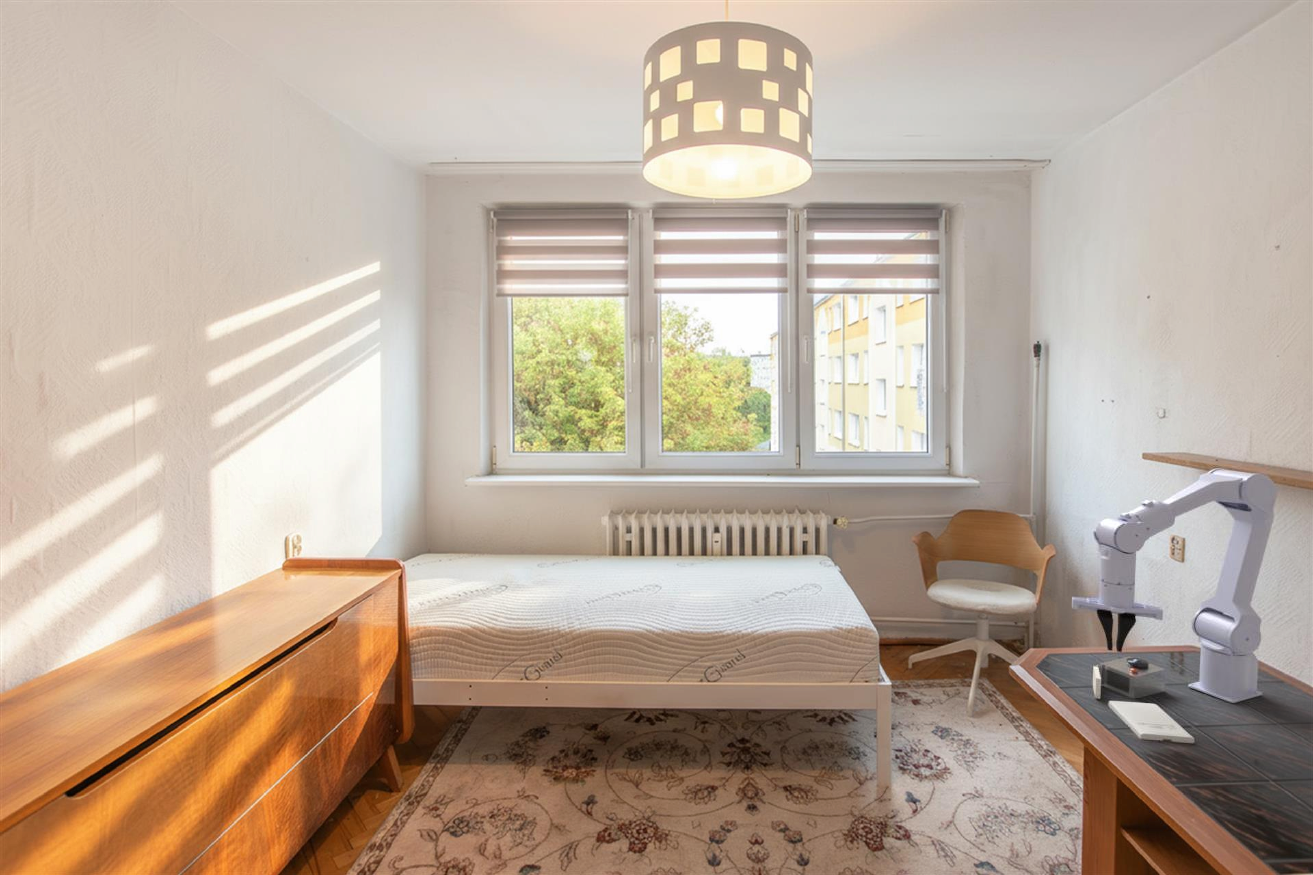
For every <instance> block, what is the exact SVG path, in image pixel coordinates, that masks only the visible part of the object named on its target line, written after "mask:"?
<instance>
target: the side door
mask: <svg viewBox="0 0 1313 875" xmlns="http://www.w3.org/2000/svg"><path fill="white" fill-rule="evenodd" d="M1092 668H1093V670H1092V689H1093V693H1094V698H1095V699H1099V700H1101V693H1102V692H1101V690H1102V686H1101V677H1100V672H1101V666H1100V664H1096V665H1094V666H1092Z"/></svg>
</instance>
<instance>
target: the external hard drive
mask: <svg viewBox="0 0 1313 875" xmlns="http://www.w3.org/2000/svg"><path fill="white" fill-rule="evenodd" d="M1108 707H1109V708H1110V709H1111V710H1112V711H1113V712H1114V713H1115V714H1116V716H1117V717H1118V718H1119V719H1121V721H1122V722H1123V723H1125V725H1126V726H1127V725H1128V726H1127V727H1128V728H1129V727H1130V730H1131V731H1132V732H1133V733H1134V734H1135V735H1136V736H1137V737H1138V739H1140V740H1148V741H1149V740H1152V741H1159V740H1160V741H1161V742H1162V741H1163V742H1164V741H1165V742H1166V741H1167V742H1173V743H1184V744H1185V743H1186V744H1195V738H1194V737H1193V736H1192V735H1191V734H1190V733H1188V731H1186V729H1184V728H1183V727H1182V726H1181V725H1180V724H1179V723H1178V722H1177V721H1176V720H1174V719H1173V718H1172V717H1171V716H1170V715H1169V714H1168V713H1166V711H1164V710H1163V709H1162V708H1161V707H1160V706H1159V705H1158V704H1156V703H1149V702H1148V703H1146V702H1136V701H1135V702H1134V701H1133V702H1132V701H1119V700H1109V701H1108Z"/></svg>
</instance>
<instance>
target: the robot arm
mask: <svg viewBox="0 0 1313 875" xmlns="http://www.w3.org/2000/svg"><path fill="white" fill-rule="evenodd" d="M1279 490H1280V489H1279V488H1278V486H1277V485H1276V484H1275V483H1274V481H1273V479H1271V478H1270V476H1268V475H1266V474H1263V473H1257V472H1256V473H1252V472H1245V471H1237V470H1232V469H1231V470H1230V469H1225V468H1220V467H1219V468H1218V467H1217V468H1214V469H1211V470H1209V471H1208V472H1205V473H1203V474H1201V475H1200V476H1199V478H1198V480H1197V481H1195V482H1193V483H1192V484H1190V485H1189V486H1187V487H1185V488H1183V489H1182V490H1180V491H1178V492H1177V493H1175V494H1173V495H1172V496H1170V497H1168V498H1167V499H1164V500H1163V501H1159V500H1156V499H1155V500H1152V499H1151V500H1148V499H1146V500H1144V501H1142V502H1141V505H1139V506H1138V507H1136V508H1134V509H1131V510H1130V511H1128V512H1123V513H1120V515H1119V516H1118V517H1117V518H1114V517H1108V518H1104V519H1103V520H1102V521H1101V522H1099V523H1098V524H1097V526H1096V529H1095V530H1094V531H1093V533H1092V534H1093V538H1094V540H1095V541H1096V543H1097V544H1098V552H1099V554H1100V556H1099V557H1100V559H1099V580H1098V581H1099V583H1098V587H1099V588H1098V597H1078V596H1077V597H1076V596H1071V609H1073V610H1086V611H1094V612H1096V614H1097V618H1098V620H1099V622H1100V624H1101V626H1102V629H1103V631H1104V635H1105V640H1106V648H1107V651H1113V645H1114V644H1113V643H1114V642H1113V627H1114V618H1113V617H1114V616H1113V614H1116V615H1117V634H1116V642H1115V644H1116V645H1115V646H1116V647H1115V649H1116V651H1117V652H1118V653H1122V650H1123V647H1124V644H1125V641H1126V639H1127V636H1128V635H1129V633H1130V631H1131V630H1132V628H1134V627H1135V625H1136V622H1137V619H1136V617H1142V618H1150V619H1155V620H1157V621H1158V620H1159V621H1163V620H1164V619H1163V615H1164V611H1163V608H1162V607H1160V606H1153V605H1148V604H1142V603H1138V602H1135V591H1136V569H1137V568H1136V567H1137V562H1136V561H1137V552H1139V551H1140V550H1142V548H1143V547H1144V545H1145V543H1146V541H1148V540H1150V538H1152V537H1154V536H1155V535H1157V534H1160V533H1161V532H1164V531H1165V530H1167V529H1169V528H1171V527H1173V526H1174V524H1175V521H1176V518H1177V517H1179V516H1181V515H1184V514H1186V513H1188V512H1190V511H1193V510H1196V509H1198V508H1200V507H1202V506H1206V505H1207V504H1210V503H1211V502H1215V503H1216V504H1218V505H1220V506H1221V507H1223V508H1224V509H1225V510H1226V511H1227V512H1228V513H1229V514H1230V516H1231V517H1232V518H1233V520H1234V522H1233V526H1232V528H1231V533H1230V537H1229V539H1228V542H1227V543H1228V544H1227V548H1226V551H1225V555H1224V558H1223V563H1222V567H1221V571H1220V575H1219V577H1218V581H1217V585H1216V589H1215V592H1214V595H1212V596H1210V597H1208V598H1205V599H1204V600H1202V601H1201V603H1200V606H1199V609H1198V610H1197V611H1196V613H1195V614H1194V615H1193V616H1192V619H1191V629H1192V631H1193V633H1194V634H1195V635H1196V636H1197V637H1198V638H1197V639H1198V640H1197V641H1198V642H1199V643H1200V657H1199V658H1200V659H1199V662H1200V663H1199V681H1196V682H1191V683H1188V686H1187V687H1188V688H1191V689H1193V690H1196V691H1199V692H1202V693H1204V694H1207V695H1209V696H1212V697H1215V698H1218V699H1221V700H1223V701H1226V702H1228V703H1232V704H1235V703H1238V702H1242V701H1245V700H1249V699H1253V698H1256V697H1260V696H1263V692H1261V691H1260V690H1257V689H1258V688H1257V687H1258V675H1259V674H1258V673H1259V661H1258V658H1257V656H1256V654H1255V653H1254V652H1255V651H1256V650H1257V649H1258V648H1259V647H1260V645H1261V642H1262V634H1261V633H1262V631H1261V624H1262V618H1261V617H1260V615H1259V614H1258V613H1257V611H1255V609H1254V608H1253V607H1252V605H1251V604H1252V599H1253V596H1254V592H1255V588H1256V586H1257V581H1258V578H1259V574H1260V571H1261V567H1262V563H1263V560H1264V556H1265V552H1266V549H1267V545H1268V541H1269V538H1270V534H1271V530H1272V526H1273V523H1274V518H1275V512H1274V511H1275V510H1274V509H1275V504H1276V501H1277V497H1278V493H1279Z"/></svg>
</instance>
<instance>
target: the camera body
mask: <svg viewBox="0 0 1313 875" xmlns="http://www.w3.org/2000/svg"><path fill="white" fill-rule="evenodd" d="M1099 665H1100V666H1101V672H1100V677H1101V687H1103V686H1104V688H1106V689H1108V690H1111V691H1113V692H1115V693H1118V694H1120V695H1122V696H1125V697H1128V698H1130V699H1132V700H1136V699H1141V698H1144V697H1148V696H1152V695H1155V694H1160V693H1164V692H1165V690H1166V689H1165V688H1166V674H1167V672H1166V669H1165V668H1162V667H1159V666H1158V665H1155V664H1152V663H1150V662H1149V661H1147V660H1145V659H1142V658H1138V657H1132V656H1126V657H1121V658H1118V659H1112V660H1109V661H1102V662H1100V663H1099Z"/></svg>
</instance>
